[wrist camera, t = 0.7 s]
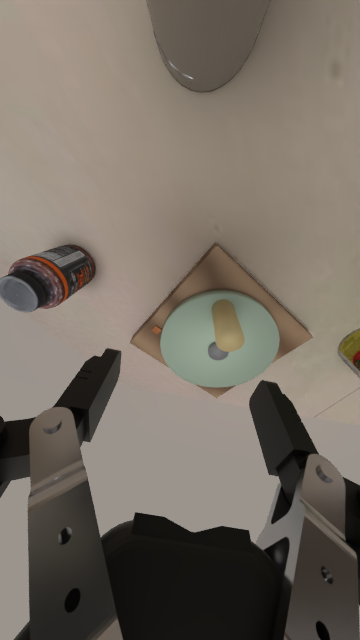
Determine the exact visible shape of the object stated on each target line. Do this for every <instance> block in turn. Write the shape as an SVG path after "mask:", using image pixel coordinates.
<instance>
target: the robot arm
mask: <svg viewBox="0 0 360 640" xmlns="http://www.w3.org/2000/svg"><path fill="white" fill-rule="evenodd" d="M146 1H147V5H148V9H149V13H150V17H151V21H152V25H153V29H154V35H155V38H156V41H157V44H158V47H159V51H160V54H161V56H162V58H163V60H164V63H165V65H166V67H167V68H168V70H169V71H170V73H171V74H172V76H173V77H174V78H175V79H176V80H177V81H178V82H179V83H180V84H181V85H183V86H185V87H187V88H189V89H190V90H194V91H199V92H205V91H212V90H214V89H217V88H219V87H221V86H223V85H224V84H225V83H227V82H228V81H229V80H231V79H232V78H233V77H234V75H235V74H236V73H237V72H238V71H239V70H240V69H241V67H242V66H243V64H244V62H245V61H246V59H247V58H248V56H249V54H250V52H251V49H252V47H253V45H254V43H255V40H256V38H257V35H258V32H259V29H260V27H261V24H262V21H263V18H264V16H265V13H266V10H267V7H268V5H269V2H270V0H146ZM120 363H121V351H119V350H114V349H109V348H107V349H106V350H105V352H104V353H103V355H102V356H101V357H98V356H93V357H92V358H90V359H89V360H87V361H86V362H85V363H84V365H83V366H82V368H81V369H80V371H79V372H78V373H77V375H76V376H75V378H74V379H73V380H72V382H71V383H70V385H69V386H68V387H67V389H66V390H65V391H64V393H63V394H62V396H61V397H60V399H59V400H58V401H57V403H56V404H55V405H54V406H53V407H52V408H50V409H48V410H46V411H44V412H42V413H41V414H40V415H38V416H37V417H34V418H30V419H24V420H15V421H7V422H4V420H3V418H2V417H1V416H0V497H1V496H2V494H3V493H4V491H5V489H6V488H7V486H8V485H9V483H10V481H11V480H16V479H21V478H26V477H30V479H31V492H30V495H29V498H28V551H29V606H30V621H29V622H28V623H27V625H26V626H25V627H24V628H23V629H22V630H21V632H20V633H19V634H18V635H17V636H16V638H15V639H14V640H360V632H359V605H360V485H358V484H356V483H354V482H352V481H350V480H348V479H346V478H344V477H342V475H341V474H340V472H339V471H338V470H337V468H336V467H335V466H334V465H333V464H332V463H331V462H330V461H328V460H327V459H326V458H325V457H323V456H321V455H319V453H318V452H317V450H316V448H315V446H314V444H313V442H312V440H311V438H310V437H309V434H308V433H307V430H306V429H305V427H304V425H303V423H302V422H301V419H300V417H299V415H298V414H297V411H296V409H295V407H294V405H293V403H292V402H291V401H290V400H289V399H288V398H287V397H286V395H285V394H282V392H281V390H280V388H279V386H278V385H277V384H276V383H274V382H269V381H264V380H262V381H260V383H259V384H258V386H257V388H256V389H255V391H254V393H253V394H252V396H251V398H250V402H249V407H250V411H251V414H252V418H253V421H254V425H255V428H256V431H257V435H258V439H259V442H260V445H261V449H262V453H263V456H264V459H265V463H266V466H267V469H268V473H269V475H275V476H279V479H280V483H279V484H278V486H277V489H276V492H275V496H274V499H273V502H272V505H271V509H270V512H269V516H268V519H267V522H266V525H265V527H264V529H263V531H262V532H261V534H260V535H259V537H258V540H257V541H256V544H254V543H253V542H251V540H250V534H249V531H248V530H243V529H236V528H230V527H224V526H220V527H216V528H212V529H208V530H204V531H200V532H195V533H194V532H190V531H188V530H187V529H184V528H183V527H181V526H179V525H177V524H176V523H174V522H172V521H170V520H168V519H167V518H165V517H161V516H155V515H148V514H142V513H135V516H134V519H133V520H132V521H127V522H124V523H122V524H119V525H117V526H116V527H114V528H112V529H111V530H109V531H108V532H107V533H105V534H104V535H103V536H102V537H101V538H100V534H99V529H98V524H97V519H96V515H95V510H94V505H93V501H92V496H91V491H90V487H89V482H88V477H87V473H86V469H85V467H84V464H83V460H82V455H81V450H80V447H81V445H82V442H83V441H87V442H90V441H91V439H92V437H93V435H94V432H95V430H96V428H97V425H98V423H99V421H100V419H101V417H102V414H103V412H104V410H105V407H106V405H107V403H108V401H109V399H110V396H111V394H112V392H113V390H114V387H115V385H116V383H117V380H118V377H119V373H120Z"/></svg>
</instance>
